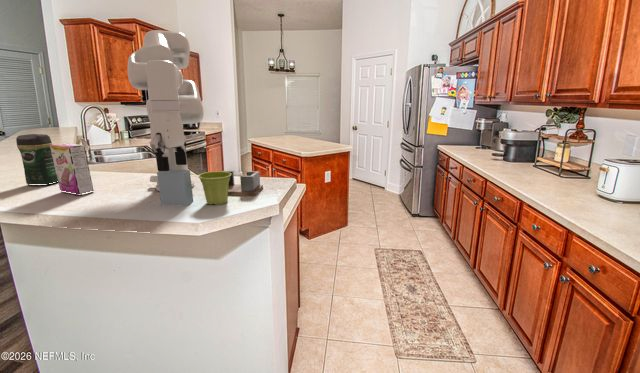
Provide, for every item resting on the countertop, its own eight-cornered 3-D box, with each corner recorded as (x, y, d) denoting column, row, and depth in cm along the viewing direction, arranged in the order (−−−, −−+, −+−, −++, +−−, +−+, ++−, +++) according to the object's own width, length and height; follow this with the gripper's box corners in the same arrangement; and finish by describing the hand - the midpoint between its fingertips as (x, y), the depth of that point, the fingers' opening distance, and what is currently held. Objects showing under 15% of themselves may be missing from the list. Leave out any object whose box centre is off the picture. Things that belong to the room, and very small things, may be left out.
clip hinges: (214, 190, 107) (212, 175, 106) (223, 184, 115) (221, 170, 113) (253, 191, 106) (252, 176, 105) (260, 185, 113) (259, 171, 112)
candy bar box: (59, 192, 110) (48, 144, 106) (75, 189, 114) (65, 142, 110) (79, 196, 106) (68, 146, 101) (95, 192, 110) (85, 144, 106)
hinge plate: (211, 194, 107) (211, 191, 107) (221, 187, 116) (221, 184, 115) (255, 195, 106) (255, 192, 105) (263, 188, 114) (262, 184, 114)
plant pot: (224, 195, 106) (222, 169, 104) (238, 202, 99) (236, 174, 97) (196, 201, 100) (193, 174, 98) (209, 209, 93) (206, 179, 91)
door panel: (161, 205, 97) (156, 172, 94) (168, 201, 101) (164, 169, 98) (187, 205, 96) (183, 172, 94) (193, 201, 100) (189, 169, 98)
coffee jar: (65, 181, 125) (54, 132, 120) (47, 187, 118) (35, 135, 113) (41, 181, 126) (30, 132, 121) (22, 186, 118) (9, 135, 113)
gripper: (169, 107, 100) (176, 162, 104) (132, 108, 83) (142, 173, 87) (193, 107, 99) (198, 162, 103) (160, 107, 82) (169, 173, 86)
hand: (173, 167), depth 95 cm, fingers open, 9 cm apart
